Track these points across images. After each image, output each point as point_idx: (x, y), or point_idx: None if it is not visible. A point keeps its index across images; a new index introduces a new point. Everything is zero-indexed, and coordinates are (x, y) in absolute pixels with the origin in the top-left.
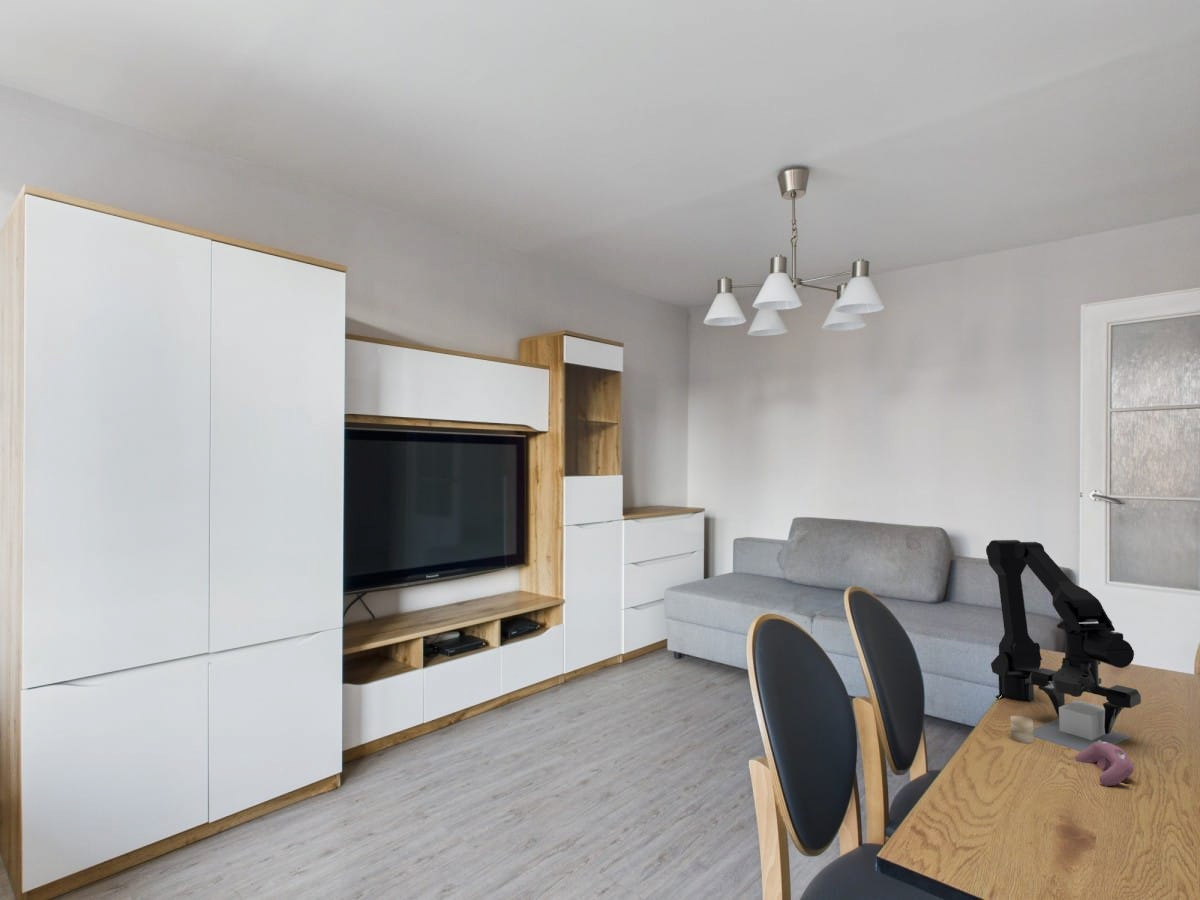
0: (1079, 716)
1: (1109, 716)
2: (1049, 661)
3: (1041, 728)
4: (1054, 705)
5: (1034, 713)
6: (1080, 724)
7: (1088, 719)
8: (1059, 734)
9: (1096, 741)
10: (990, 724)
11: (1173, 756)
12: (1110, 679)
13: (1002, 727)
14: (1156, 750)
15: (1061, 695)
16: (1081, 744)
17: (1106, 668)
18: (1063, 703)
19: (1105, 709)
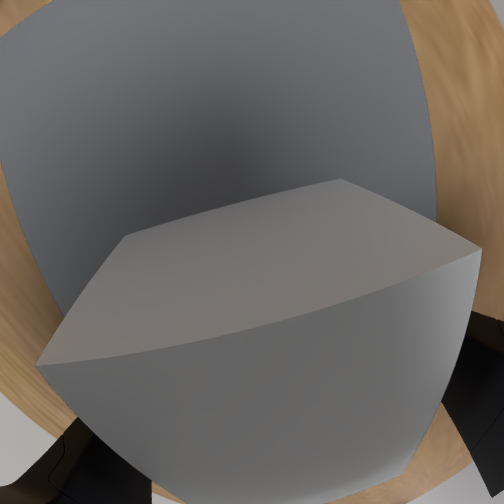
0: (179, 304)
1: (53, 458)
2: (464, 462)
3: (406, 99)
4: (491, 323)
5: (485, 308)
6: (185, 257)
7: (79, 322)
8: (290, 101)
9: (102, 244)
10: (494, 18)
11: (25, 396)
12: (395, 498)
13: (470, 15)
14: (64, 404)
15: (491, 436)
16: (91, 89)
17: (407, 498)
18: (452, 402)
19: (39, 502)
